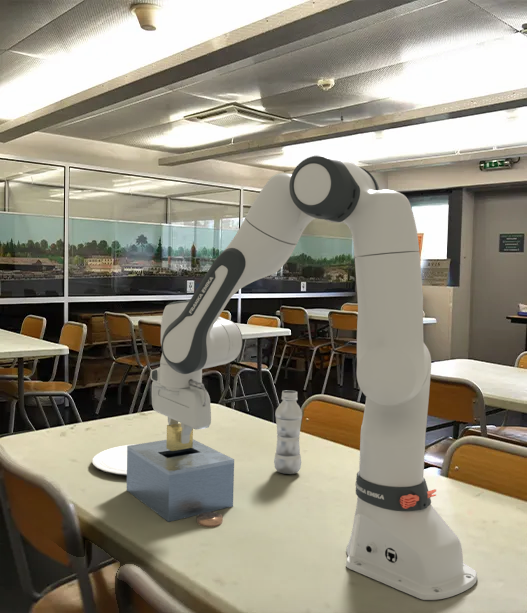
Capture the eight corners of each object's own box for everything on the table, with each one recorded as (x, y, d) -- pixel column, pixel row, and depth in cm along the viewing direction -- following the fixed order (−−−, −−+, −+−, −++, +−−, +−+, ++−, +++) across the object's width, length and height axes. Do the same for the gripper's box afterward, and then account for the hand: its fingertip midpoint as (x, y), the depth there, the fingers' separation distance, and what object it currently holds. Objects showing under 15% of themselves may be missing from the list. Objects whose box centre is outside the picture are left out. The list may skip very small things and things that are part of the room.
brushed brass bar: (192, 447, 133) (193, 424, 133) (171, 451, 130) (172, 427, 130) (187, 444, 135) (187, 422, 135) (166, 448, 132) (166, 425, 132)
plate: (122, 490, 138) (123, 481, 138) (74, 461, 157) (74, 454, 156) (213, 468, 154) (213, 460, 154) (159, 444, 173) (160, 438, 173)
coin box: (233, 506, 129) (234, 459, 129) (168, 521, 121) (169, 471, 120) (186, 478, 146) (187, 436, 145) (126, 490, 137) (127, 445, 136)
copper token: (227, 524, 121) (227, 518, 121) (205, 530, 118) (206, 524, 118) (213, 515, 125) (213, 509, 125) (192, 521, 122) (192, 515, 122)
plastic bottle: (299, 478, 148) (301, 395, 147) (271, 475, 149) (273, 393, 148) (302, 469, 154) (305, 390, 153) (276, 467, 156) (278, 388, 154)
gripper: (219, 383, 125) (217, 450, 126) (172, 368, 141) (171, 428, 142) (192, 386, 121) (190, 455, 122) (146, 370, 138) (145, 431, 139)
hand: (179, 440), depth 132 cm, fingers closed on brushed brass bar, 2 cm apart
